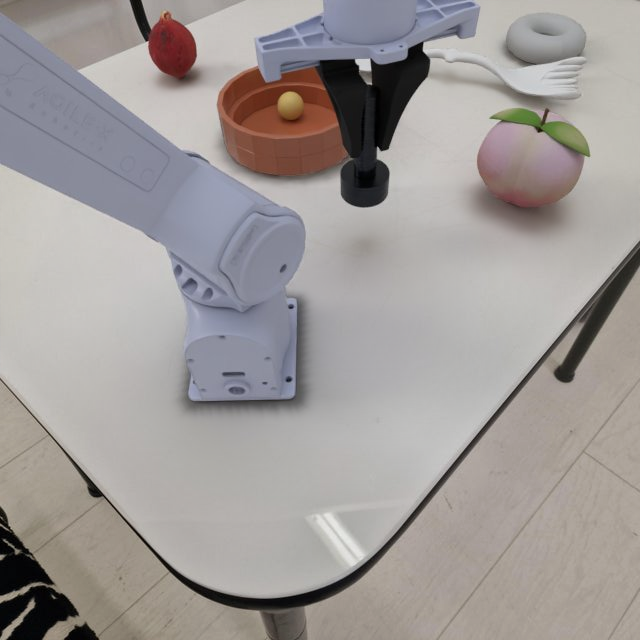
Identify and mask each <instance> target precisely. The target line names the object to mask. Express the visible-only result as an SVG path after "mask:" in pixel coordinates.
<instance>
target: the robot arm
mask: <svg viewBox="0 0 640 640" xmlns="http://www.w3.org/2000/svg"><path fill="white" fill-rule="evenodd" d="M480 12H481V5H480V4H479V3H477V2H476V1H475V0H322V12H321V13H318V14H317V15H313V16H311V17H309V18H306V19H304V20H302V21H299V22H297V23H294V24H292V25H290V26H288V27H286V28H283V29H280V30H278V31H275V32H272V33H268V34H265V35H261V36H256V37H254V38H253V40H254V48H255V55H256V61H257V66H258V68H259V70H260V72H261V74H262V76H263V78H264V80H265V82H266V83H268V82H272V81H277V80H280V79H281V78H282V77H281V74H282V73H287V72H291V71H296V70H300V69H305V68H309V67H315V69H316V71H317V73H318V75H319V77H320V79H321V81H322V83H323V85H324V87H325V89H326V91H327V93H328V96H329V98H330V100H331V103H332V105H333V108H334V111H335V114H336V117H337V120H338V123H339V127H340V132H341V137H342V143H343V146H344V148H345V149H346V151H347V153H348V154H349V155H348V156H349V158H350V159H351V160H352V159H354V158H357V157H360V154H361V121H362V113H363V107H364V102H365V97H366V93H367V90H368V87H369V86H368V85H367V82H366V81H365V79H364V78H363V76H362V75H361V74H360V71H359V65H357V64H356V62H355V59H370V63H371V72H370V74H371V75H370V76H371V85H375V86H377V87H378V88H379V89H380V110H379V128H378V147H377V149H379V152H385V151H388V150H389V149H390V147H391V144H392V142H393V141H392V140H393V137H394V135H395V132H396V130H397V128H398V126H399V122H400V121H401V118H402V116H403V114H404V112H405V110H406V108H407V106H408V104H409V103H410V101H411V99H412V97H413V96H414V95H415V93H416V92H417V90H418V89H419V88H420V86H421V85H422V84H423V82H424V81H426V79H427V78H429V73H430V70H431V69H430V68H431V58H429V57H428V56H427V55H426V54H425V53H424V52H423V49H424V44H425V43H427V42H431V41H437V40H442V39H446V38H449V37H450V38H451V37H457V38H458V39H460V40H466V39H470V38H474V37H476V32H477V27H478V22H479V18H480ZM0 165H1V166H3V167H6V168H8V169H10V170H12V171H14V172H16V173H19V174H21V175H22V176H23V177H26V178H28V179H31V180H33V181H35V182H37V183H39V184H41V185H43V186H46V187H48V188H49V189H51V190H54V191H56V192H58V193H60V194H62V195H64V196H66V197H68V198H71V199H72V200H75V201H77V202H79V203H81V204H83V205H85V206H87V207H90V208H91V209H94V210H95V211H98V212H100V213H102V214H105V215H106V216H108V217H110V218H113V219H114V220H117V221H118V222H121V223H123V224H125V225H127V226H129V227H131V228H133V229H135V230H138V231H140V232H141V233H143V234H144V235H145V236H146V237H148V238H150V239H151V240H152V241H154V242H156V243H159V244H160V245H162V246H163V247H164V248H165V250H166V253H167V256H168V258H169V260H170V262H171V268H172V273H173V276H174V280H175V282H176V284H177V287H178V290H179V292H180V295H181V297H182V300H183V301H182V302H183V303H184V309H185V313H186V330H185V338H184V343H183V358H184V362H185V363H186V365H187V369H188V370H189V373H190V381H189V385H188V392H187V395H188V398H189V399H190V401H193V402H213V401H214V402H218V401H221V402H222V401H262V400H263V401H267V400H291V399H293V398H294V397H295V396H296V390H297V389H296V388H297V387H296V385H297V382H296V381H297V380H296V379H297V341H298V340H297V339H298V338H297V337H298V300H297V299H296V298H294V297H287V288H286V286H287V285H288V284H289V283H290V281H291V280H292V279H293V278H294V276H295V274H296V273H297V271H298V270H299V268H300V266H301V263H302V260H303V257H304V253H305V249H306V235H307V234H306V225H305V222H304V219H303V218H302V217H301V215H300V214H299V213H298V212H296V211H295V210H293V209H291V208H290V207H287V206H281V205H279V204H278V203H276V202H274V201H273V200H271V199H269V198H267V197H266V196H264V195H263V194H261V193H260V192H258V191H256V190H255V189H253V188H251V187H249V186H248V185H246V184H245V183H243V182H241V181H239V180H238V179H236V178H235V177H233V176H231V175H230V174H228V173H226V172H225V171H223V170H221V169H219V168H218V167H216V166H215V165H213V164H211V163H210V161H209V160H208V159H206V158H205V157H203V156H202V155H201V154H200V153H198V152H196V151H191V150H188V149H187V150H186V149H180V148H179V147H178V146H177V145H176V144H174V143H173V142H172V141H170V140H169V139H168V138H166V137H165V136H163V134H161V133H160V132H158V131H157V130H156V129H154V128H153V127H152V126H151V125H149V124H148V123H147V122H145V121H144V120H143V119H141V118H140V117H139V116H137V115H136V114H135V113H134V112H132V111H131V110H129V108H127V107H125V106H124V104H121V103H120V102H119V101H118V100H117V99H115V98H114V97H113V96H111V95H110V94H109V93H107V92H106V91H104V90H103V88H101V87H100V86H98V85H96V83H94V82H93V81H91V80H90V79H89V78H87V77H86V76H85V75H83V74H82V73H81V72H80V71H78V70H77V69H76V68H75V67H73V66H72V65H70V64H69V63H68V62H66V61H65V60H64V59H63V58H61V57H60V56H59V55H57V53H55V52H54V51H52V50H51V49H50V48H48V47H47V46H45V45H44V44H43V43H42V42H41V41H39V40H38V39H37V38H35V37H34V36H32V35H31V34H29V33H28V32H27V31H26V30H25V29H24V28H22V27H21V26H19V25H18V24H16V23H15V22H14V21H13V20H11V19H10V18H9V17H7V16H6V15H5V14H4V13H2V12H1V11H0ZM287 380H291V381H287Z"/></svg>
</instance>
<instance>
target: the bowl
mask: <svg viewBox="0 0 640 640" xmlns="http://www.w3.org/2000/svg"><path fill="white" fill-rule="evenodd" d="M281 77H282V78H281V79H280V80H277V81H272V82H268V83H266V82H265V80H264V78H263V76H262V74H261V72H260V70H259V68H258V65H256V66H253V67H251V68H247V69H245V70H243V71H241V72H239V73H238V74H237V75H235V76H233V77H232V78H230V79H229V80H228V81H226V83H225V84H224V85H223V87H222V88H221V89H220V90H219V92H218V95H217V100H216V110H217V114H218V119H219V123H220V124H219V125H220V129H221V134H222V139H223V143H224V146H225V148H226V151H227V153H228V154H229V155H230V156H231V157H232V158H233V159H234V160H235V161H236V162H237V163H239V164H240V165H242V166H244V167H245V168H248V169H250V170H252V171H255V172H258V173H262V174H268V175H274V176H284V177H286V176H287V177H290V176H293V177H294V176H303V175H308V174H313V173H316V172H320V171H324V170H326V169H328V168H331V167H333V166H334V165H337V164H339V163H340V162H342V161H344V159H346V158H347V157H348V156H349V154H348V153H347V151H346V149H345V148H344V146H343V143H342V137H341V132H340V127H339V123H338V120H337V117H336V114H335V111H334V108H333V105H332V103H331V100H330V98H329V96H328V93H327V91H326V89H325V87H324V85H323V83H322V81H321V79H320V77H319V75H318V73H317V71H316V69H315V67H309V68H305V69H300V70H296V71H291V72H287V73H282V74H281ZM286 92H295V93H297V94H298V95H300V97H301V98H302V100H303V103H304V109H303V112H302V114H301V116H300V117H298V118H297V119H295V120H287V119H285V118H283V117H282V116H281V115H280V113H279V111H278V100H279V98H280V97H281V95H283V94H284V93H286Z"/></svg>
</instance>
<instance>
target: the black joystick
mask: <svg viewBox="0 0 640 640" xmlns="http://www.w3.org/2000/svg"><path fill="white" fill-rule="evenodd" d="M366 84H367V83H366ZM367 85H368V86H369V87H368V90H367V93H366V97H365V102H364V107H363V113H362V121H361V154H360V157H357V158H353V159H352V158H351V159H350V160H348V161H346V162H345V163H344V164H343V165H342V167H341V168H340V172H339V176H340V178H339V179H340V180H339V181H340V185H339V186H340V196H341V198H342V199H343V200H344V201H345V202H346V203H347V204H348V205H350V206H352V207H355V208H363V209H365V208H368V209H369V208H372V207H376V206H378V205H380V204H382V203H384V201H385V200H386V199H387V198H388V195H389V187H390V175H391V174H390V173H391V171H390V169H389V167H388V165H387V164H386V163H385V162H384V161H382V160H381V159H379V158H378V128H379V110H380V89H379V88H378V87H377V86H375V85H372V83H371V84H369V83H368V84H367Z"/></svg>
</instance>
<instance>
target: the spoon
mask: <svg viewBox="0 0 640 640" xmlns="http://www.w3.org/2000/svg"><path fill="white" fill-rule="evenodd" d="M423 52H424V53H425V54H426V55H427V56H428V57H429V58H430V59H441V60H444V61H445V62H446V63H449V64H454V63H464V64H465V63H466V64H472V65H476V66H478V67H482V68H484V69H486V70H487V71H489V72H490V73H492V74H493V75H494V76H496V77H497V78H498V79H499V80H500V81H502V82H503V83H504V84H505V85H506V86H508V87H509V88H510V89H511V90H513V91H515V92H517V93H520V94H522V95H527V96H533V97H542V98H548V99H555V100H564V101H565V100H566V101H567V100H569V101H571V100H572V101H574V100H578V99H579V98H581V97H582V92H580V90H579V89H578V88H579V86H578V85H575V84H577V83H578V79H576V78H575V77H578V76H580V75H581V72H579V71H581V70H582V69H583V68H584V67H583V65H584V64H586V63H587V62H588V59H587V57H586V56H577V57H573V58H569V59H564V60H561V61H557V62H553V63H548V64H540V65H539V64H534V65H533V64H532V65H528V66H524V67H520V68H507V67H505V66H503V65H501V64H499V63H497V62H496V61H494V60H493V59H491V58H489V57H486V56H484V55H481V54H478V53H474V52H468V51H464V50H461V49H458V47H450V48H423ZM355 62H356V64H357V65H359V72H361V73H362V72H363V73H371V63H370V59H355Z"/></svg>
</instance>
